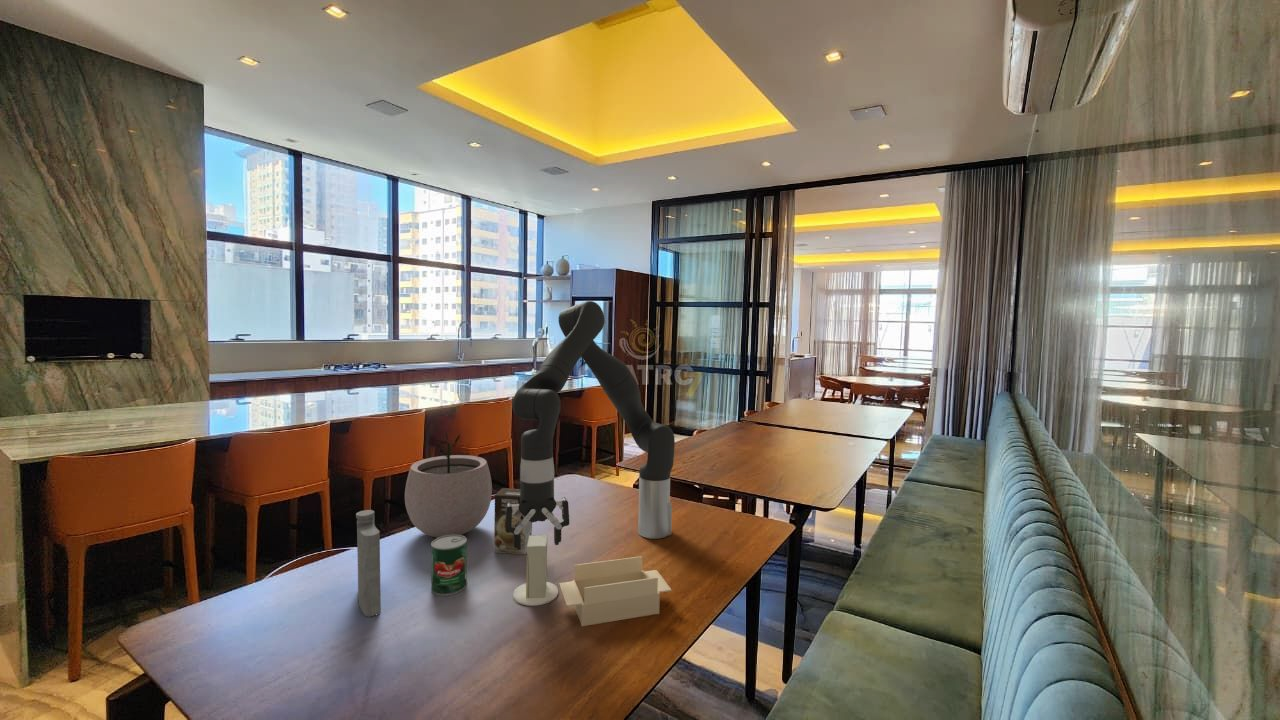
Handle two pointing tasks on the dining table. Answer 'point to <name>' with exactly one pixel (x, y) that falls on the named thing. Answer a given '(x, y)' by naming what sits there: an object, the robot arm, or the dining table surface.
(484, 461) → the plant pot
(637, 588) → the carton
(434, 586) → the canned tomato
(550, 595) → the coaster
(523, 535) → the coffee box
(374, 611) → the hip flask
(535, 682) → the dining table surface
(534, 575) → the skincare box
